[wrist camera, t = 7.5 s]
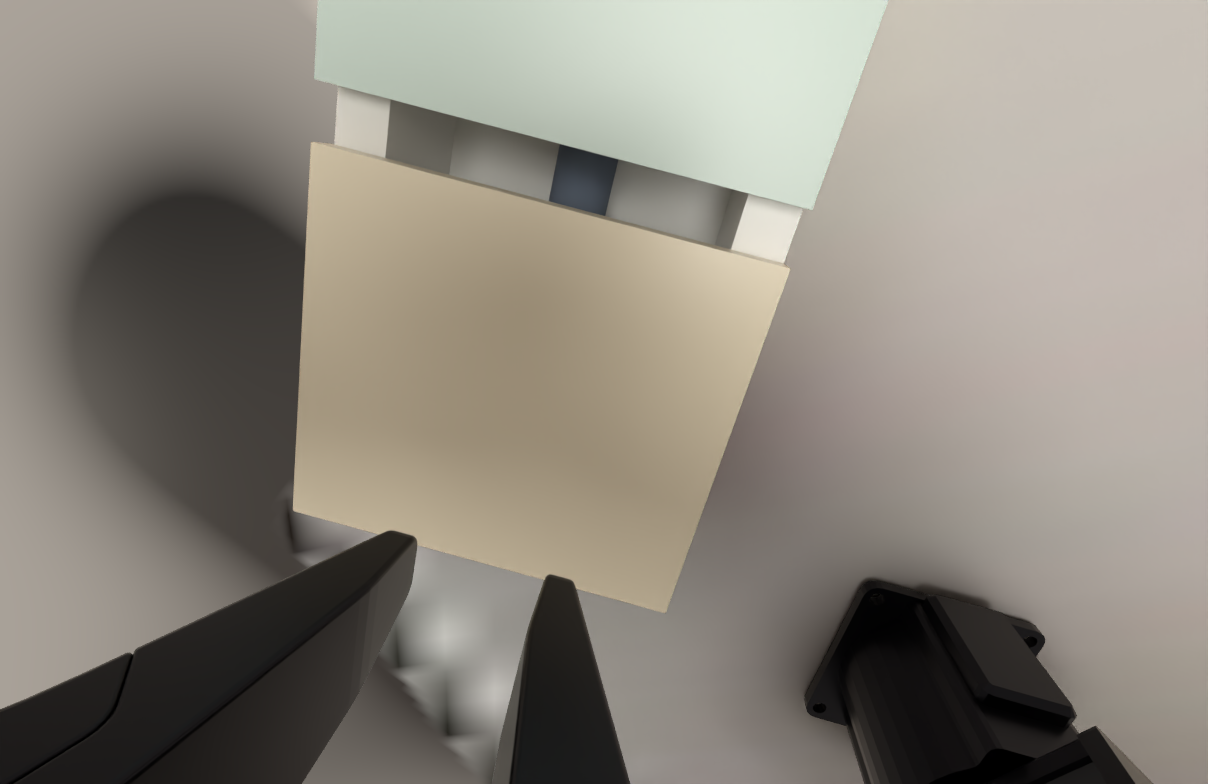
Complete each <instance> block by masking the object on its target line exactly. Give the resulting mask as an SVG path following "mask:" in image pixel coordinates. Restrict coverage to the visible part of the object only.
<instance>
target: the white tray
mask: <svg viewBox="0 0 1208 784" xmlns="http://www.w3.org/2000/svg"><path fill="white" fill-rule="evenodd" d="M334 145H338V146H342V147H346V148H350V149H353V150H357V151H361V152H365V153H368V154H372V155H376V156H380V157H384V158H387V159H391V160H395V161H399V162H402V163H406V164H410V165H414V166H418V167H421V168H425V169H429V170H433V171H436V172H440V173H444V174H448V175H451V176H455V177H459V178H463V179H467V180H470V181H474V182H478V183H482V184H485V185H489V186H493V187H497V188H501V189H504V190H508V191H512V192H516V193H519V194H523V195H527V196H531V197H535V198H538V199H542V200H546V201H549V197H550V191H551V186H552V181H553V176H554V171H555V166H556V161H557V156H558V151H559V146H560V144H558V143H554V142H550V141H546V140H543V139H539V138H535V137H531V136H527V135H524V134H520V133H516V132H512V131H508V130H505V129H501V128H497V127H493V126H489V125H486V124H482V123H478V122H474V121H470V120H467V119H463V118H459V117H455V116H451V115H448V114H444V113H440V112H436V111H432V110H429V109H425V108H421V107H417V106H413V105H410V104H406V103H402V102H398V101H394V100H391V99H387V98H383V97H379V96H375V95H372V94H368V93H364V92H360V91H356V90H353V89H349V88H345V87H341V86H338V94H337V110H336V125H335V141H334ZM802 211H803V208H801V207H797V206H793V205H790V204H786V203H782V202H778V201H774V200H771V199H767V198H763V197H759V196H755V195H752V194H748V193H744V192H740V191H736V190H733V189H729V188H725V187H721V186H717V185H714V184H710V183H706V182H702V181H698V180H695V179H691V178H687V177H683V176H679V175H676V174H672V173H668V172H664V171H660V170H657V169H653V168H649V167H645V166H641V165H638V164H634V163H630V162H626V161H622V160H619V159H618V164H617V168H616V172H615V176H614V181H613V185H612V189H611V193H610V198H609V202H608V206H607V210H606V215H605V216H606V217H610V218H614V219H618V220H621V221H625V222H629V223H633V224H637V225H640V226H644V227H648V228H652V229H655V230H659V231H663V232H667V233H670V234H674V235H678V236H682V237H686V238H689V239H693V240H697V241H701V242H704V243H708V244H712V245H716V246H720V247H723V248H727V249H731V250H735V251H738V252H742V253H746V254H750V255H753V256H757V257H761V258H765V259H769V260H772V261H776V262H780V263H784V261H785V259H786V256H787V253H788V250H789V247H790V245H791V242H792V239H793V236H794V233H795V231H796V228H797V225H798V222H799V219H800V217H801V214H802Z"/></svg>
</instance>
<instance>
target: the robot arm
mask: <svg viewBox="0 0 1208 784" xmlns="http://www.w3.org/2000/svg"><path fill="white" fill-rule="evenodd" d="M416 552H417V539H416V538H415V537H414V536H413V535H409V534H405V533H402V532H398V531H395V530H389V531H386V532H384V533H381V534H379V535H377V536H375V537H373V538H371V539H369V540H367V541H364V542H362V543H360V544H358V545H356V546H354V547H352V548H350V549H347V550H345V551H343V552H341V553H339V554H337V555H335V556H332V557H330V558H328V559H326V560H324V561H322V562H320V563H318V564H315V565H313V566H311V567H309V568H307V569H305V570H303V571H301V572H298V573H296V574H294V575H292V576H290V577H288V578H286V579H284V580H282V581H279V582H277V583H275V584H273V585H271V586H269V587H266V588H265V589H262V590H260V591H258V592H256V593H254V594H252V595H249V596H247V597H245V598H243V599H241V600H239V601H237V602H234V603H232V604H230V605H228V606H226V607H224V608H222V609H220V610H217V611H215V612H213V613H211V614H209V615H207V616H205V617H202V618H200V619H198V620H196V621H194V622H192V623H190V624H188V625H186V626H183V627H181V628H179V629H177V630H175V631H173V632H171V633H168V634H166V635H164V636H162V637H160V638H158V639H156V640H153V641H151V642H150V643H147V644H145V645H143V646H141V647H139V648H137V649H136V650H135V651H134V654H131V653H125V654H123V655H121V656H119V657H117V658H115V659H112V660H110V661H108V662H106V663H104V664H102V665H100V666H98V667H96V668H93V669H91V670H89V671H87V672H85V673H82V674H80V675H78V676H76V677H73V678H71V679H69V680H67V681H65V682H62V683H60V684H58V685H56V686H53V687H51V688H49V689H47V690H45V691H42V692H40V693H38V694H35V695H33V696H31V697H29V698H27V699H24V700H22V701H20V702H17V703H14V704H12V705H10V706H7V707H5V708H2V709H0V784H302V782H303V781H304V779H305V778H306V776H307V774H308V773H309V772H310V770H311V768H312V767H313V765H314V764H315V762H316V761H317V759H318V757H319V756H320V754H321V753H322V751H323V750H324V748H325V747H326V745H327V743H328V742H329V740H330V739H331V737H332V736H333V734H334V732H335V731H336V729H337V728H338V726H339V725H340V723H341V721H342V720H343V718H344V717H345V715H346V713H347V712H348V710H349V709H350V707H351V705H352V704H353V702H354V700H355V699H356V697H357V695H358V694H359V692H360V689H361V688H362V686H363V684H364V682H365V680H366V678H367V676H368V674H369V672H370V670H371V668H372V666H373V664H374V662H375V660H376V658H377V656H378V654H379V652H380V650H381V648H382V646H383V644H384V642H385V640H386V638H387V636H388V634H389V632H390V630H391V628H392V626H393V624H394V622H395V620H396V618H397V616H398V614H399V612H400V610H401V608H402V606H403V604H404V602H405V600H406V598H407V595H408V593H409V590H410V587H411V584H412V579H413V572H414V565H415V558H416ZM874 594H880V595H879V596H878V597H876V598H871V596H872V595H874ZM1028 636H1029V637H1028ZM1025 637H1028V638H1026V639H1024V638H1025ZM1044 643H1045V638H1044V636H1043V635H1042V634H1041V632H1040V631H1039V630H1038V629H1037V627H1036V626H1035V625H1033V624H1031V623H1028V622H1024V621H1020V620H1017V619H1013V618H1010V617H1006V616H1005V615H1004V614H1002V613H1001V612H997V611H994V610H990V609H987V608H983V607H979V606H976V605H972V604H969V603H965V602H961V601H958V600H954V599H951V598H947V597H943V596H940V595H927V594H924V593H920V592H916V591H913V590H909V589H906V588H902V587H899V586H895V585H891V584H888V583H884V582H881V581H869V582H867V583H865V584H863V586H862V587H861V588H860V590H859V592H858V594H857V596H856V598H855V600H854V602H853V603H852V605H851V607H850V609H849V611H848V613H847V615H846V617H845V619H844V621H843V623H842V625H841V627H840V629H839V631H838V633H837V635H836V637H835V639H834V640H833V642H832V644H831V646H830V648H829V650H828V652H827V654H826V656H825V658H824V660H823V662H822V664H821V666H820V668H819V670H818V672H817V674H816V676H815V677H814V679H813V681H812V683H811V685H810V687H809V689H808V691H807V693H806V695H805V698H804V701H805V705H806V709H807V712H808V713H809V714H810V715H812V716H814V717H817V718H820V719H824V720H827V721H831V722H834V723H838V724H841V725H845V726H847V729H848V732H849V735H850V739H851V742H852V745H853V748H854V752H855V755H856V758H857V761H858V765H859V768H860V771H861V774H862V777H863V781H864V784H1153V783H1152V782H1151V781H1150V780H1149V779H1148V778H1147V777H1146V776H1145V775H1144V774H1143V773H1142V772H1141V771H1140V770H1139V769H1138V768H1137V767H1136V766H1135V765H1134V764H1133V763H1132V762H1131V761H1130V759H1129V758H1128V757H1127V756H1126V755H1125V754H1124V753H1123V752H1122V751H1121V750H1120V749H1119V748H1118V747H1117V746H1116V745H1115V744H1114V743H1113V742H1112V741H1111V740H1110V739H1109V738H1108V737H1107V736H1106V735H1105V734H1104V733H1103V732H1102V731H1101V730H1100V729H1099V728H1098V727H1097V726H1094V727H1092V728H1090V729H1088V730H1086V731H1083V732H1081V733H1078V732H1077V730H1076V729H1075V727H1074V726H1073V725H1072V722H1073V721H1074V720H1075V718H1076V716H1077V715H1076V713H1075V711H1074V709H1073V706H1072V704H1071V703H1070V702H1069V700H1068V699H1067V698H1066V696H1065V695H1064V694H1063V692H1062V691H1061V690H1060V688H1059V687H1058V686H1057V685H1056V683H1055V682H1054V681H1053V679H1052V678H1051V677H1050V675H1049V674H1048V673H1047V671H1046V670H1045V669H1044V667H1043V666H1042V665H1041V663H1040V662H1039V661H1038V659H1037V658H1036V656H1037V654H1038V653H1039V652H1040V650H1041V649H1042V647H1043V646H1044ZM817 703H821V704H817ZM492 784H630V781H629V778H628V774H627V770H626V767H625V763H624V760H623V756H622V752H621V749H620V745H619V742H618V738H617V734H616V731H615V727H614V724H613V720H612V716H611V713H610V709H609V706H608V702H607V698H606V695H605V691H604V688H603V684H602V680H601V677H600V673H599V670H598V666H597V662H596V659H595V655H594V652H593V648H592V644H591V641H590V637H589V634H588V630H587V626H586V623H585V619H584V616H583V612H582V608H581V605H580V601H579V598H578V594H577V590H576V587H575V584H574V582H573V581H572V580H570V579H567V578H563V577H560V576H556V575H552V574H549V575H547V576H546V577H545V580H544V582H543V585H542V588H541V591H540V594H539V597H538V600H537V603H536V606H535V609H534V612H533V615H532V617H531V620H530V623H529V627H528V630H527V634H526V638H525V642H524V646H523V650H522V654H521V658H520V662H519V666H518V670H517V674H516V678H515V682H514V686H513V690H512V694H511V698H510V702H509V705H508V709H507V713H506V717H505V721H504V725H503V729H502V733H501V738H500V743H499V748H498V753H497V758H496V764H495V770H494V775H493V781H492Z"/></svg>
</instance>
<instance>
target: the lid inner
mask: <svg viewBox="0 0 1208 784" xmlns="http://www.w3.org/2000/svg"><path fill="white" fill-rule="evenodd" d="M308 194H309V195H308V213H307V234H306V253H305V273H304V274H305V275H304V294H303V315H302V334H301V355H300V356H301V357H300V375H299V377H300V378H299V395H298V415H297V437H296V456H295V476H294V496H293V511H295V512H299V513H303V514H306V515H310V516H313V517H317V518H321V519H324V520H328V521H332V522H335V523H339V524H342V525H346V526H350V527H353V528H357V529H361V530H364V531H368V532H372V533H375V534H381V533H384V532H386V531H389V530H395V531H398V532H402V533H405V534H409V535H413V536H414V537H415V538H416V539H417V545H419V546H422V547H426V548H430V549H433V550H437V551H441V552H444V553H448V554H452V555H455V556H459V557H462V558H466V559H470V560H473V561H477V562H481V563H484V564H488V565H492V566H495V567H499V568H502V569H506V570H510V571H513V572H517V573H521V574H524V575H528V576H532V577H535V578H539V579H542V580H545V577H546V576H547V575H549V574H552V575H556V576H560V577H563V578H567V579H570V580H572V581H573V582H574V584H575V587H576V589H579V590H582V591H586V592H590V593H593V594H597V595H601V596H604V597H608V598H612V599H615V600H619V601H622V602H626V603H630V604H633V605H637V606H641V607H644V608H648V609H651V610H655V611H659V612H662V613H666V611H667V608H668V606H669V603H670V600H671V597H672V595H673V592H674V589H675V586H676V584H677V581H678V578H679V575H680V572H681V570H682V567H683V564H684V561H685V559H686V556H687V553H688V550H689V548H690V545H691V542H692V539H693V537H694V534H695V531H696V528H697V526H698V523H699V520H700V517H701V515H702V512H703V509H704V506H705V504H706V501H707V498H708V495H709V493H710V490H711V487H712V484H713V482H714V479H715V476H716V473H717V471H718V468H719V465H720V462H721V459H722V457H723V454H724V451H725V448H726V446H727V443H728V440H729V437H730V435H731V432H732V429H733V426H734V424H735V421H736V418H737V415H738V413H739V410H740V407H741V404H742V402H743V399H744V396H745V393H746V391H747V388H748V385H749V382H750V380H751V377H752V374H753V371H754V369H755V366H756V363H757V360H758V358H759V355H760V352H761V349H762V346H763V344H764V341H765V338H766V335H767V333H768V330H769V327H770V324H771V322H772V319H773V316H774V313H775V311H776V308H777V305H778V302H779V300H780V297H781V294H782V291H783V289H784V286H785V283H786V280H787V278H788V275H789V272H790V268H789V267H788V266H786V265H785V264H784V263H780V262H776V261H772V260H769V259H765V258H761V257H757V256H753V255H750V254H746V253H742V252H738V251H735V250H731V249H727V248H723V247H720V246H716V245H712V244H708V243H704V242H701V241H697V240H693V239H689V238H686V237H682V236H678V235H674V234H670V233H667V232H663V231H659V230H655V229H652V228H648V227H644V226H640V225H637V224H633V223H629V222H625V221H621V220H618V219H614V218H610V217H606V216H603V215H599V214H595V213H591V212H587V211H584V210H580V209H576V208H572V207H569V206H565V205H561V204H557V203H553V202H550V201H546V200H542V199H538V198H535V197H531V196H527V195H523V194H519V193H516V192H512V191H508V190H504V189H501V188H497V187H493V186H489V185H485V184H482V183H478V182H474V181H470V180H467V179H463V178H459V177H455V176H451V175H448V174H444V173H440V172H436V171H433V170H429V169H425V168H421V167H418V166H414V165H410V164H406V163H402V162H399V161H395V160H391V159H387V158H384V157H380V156H376V155H372V154H368V153H365V152H361V151H357V150H353V149H350V148H346V147H342V146H338V145H334V144H329V143H319V142H311V153H310V173H309V193H308Z"/></svg>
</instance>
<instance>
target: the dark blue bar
mask: <svg viewBox="0 0 1208 784" xmlns="http://www.w3.org/2000/svg"><path fill="white" fill-rule="evenodd" d="M617 164H618V159H615V158H611V157H607V156H603V155H600V154H596V153H592V152H588V151H584V150H581V149H577V148H573V147H569V146H565V145H562V144H560V146H559V151H558V156H557V161H556V166H555V171H554V176H553V181H552V186H551V191H550V197H549V201H550V202H553V203H557V204H561V205H565V206H569V207H572V208H576V209H580V210H584V211H587V212H591V213H595V214H599V215H603V216H605V215H606V210H607V206H608V202H609V198H610V193H611V189H612V185H613V181H614V176H615V172H616V168H617Z"/></svg>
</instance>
